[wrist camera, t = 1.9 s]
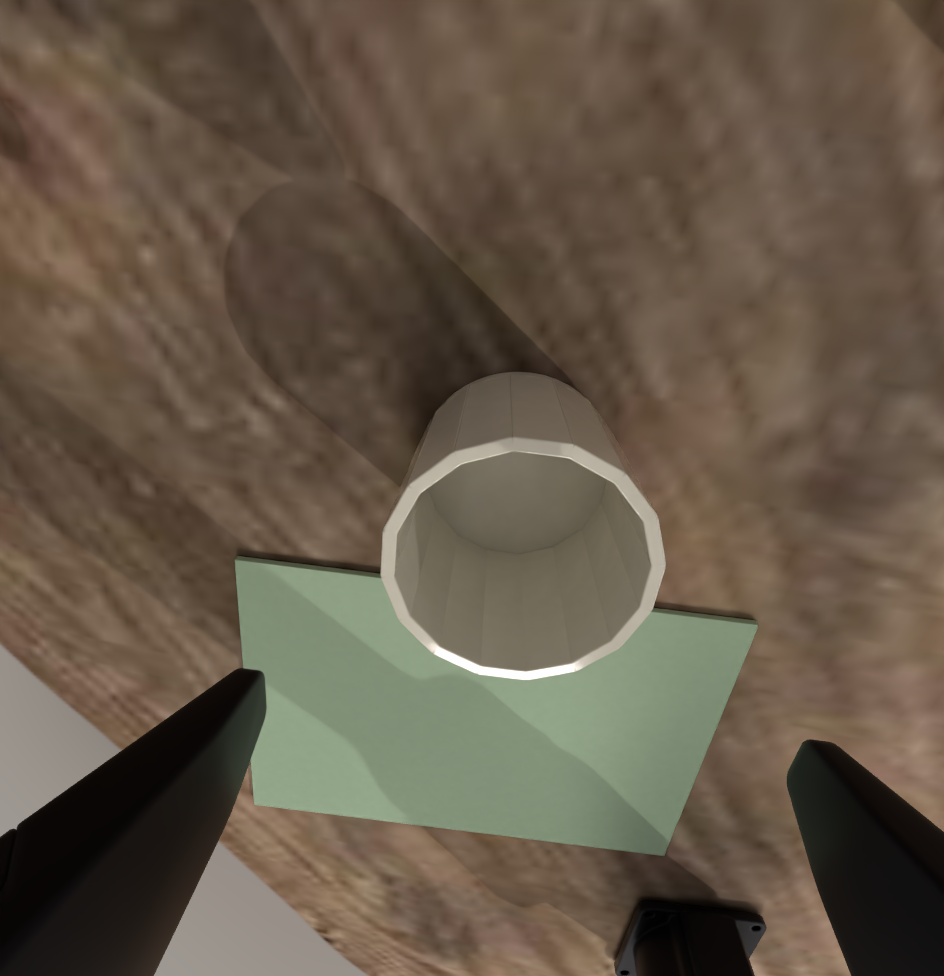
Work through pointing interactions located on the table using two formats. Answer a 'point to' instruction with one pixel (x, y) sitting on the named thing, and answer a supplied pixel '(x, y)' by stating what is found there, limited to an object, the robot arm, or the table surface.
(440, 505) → the cup
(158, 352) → the table surface
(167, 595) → the table surface
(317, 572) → the felt mat
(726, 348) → the table surface
